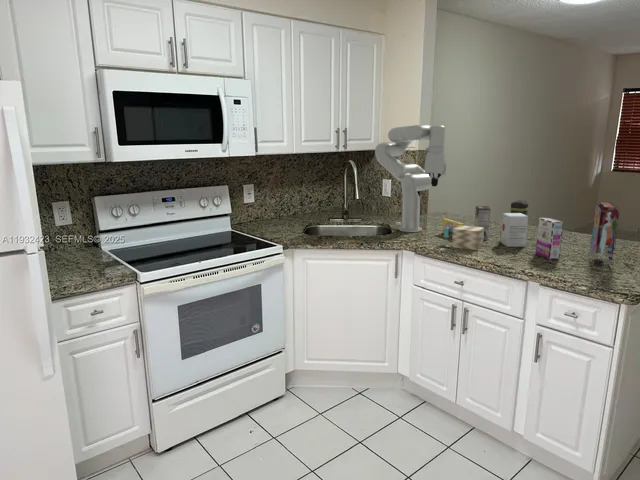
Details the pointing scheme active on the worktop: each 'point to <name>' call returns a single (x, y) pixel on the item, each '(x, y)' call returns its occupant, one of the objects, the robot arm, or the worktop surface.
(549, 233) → the candy bar box
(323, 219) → the worktop surface
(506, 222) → the supplement box
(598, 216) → the box
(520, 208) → the coffee jar
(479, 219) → the coffee box
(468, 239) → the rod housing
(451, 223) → the candy box
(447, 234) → the teal and silver rod
